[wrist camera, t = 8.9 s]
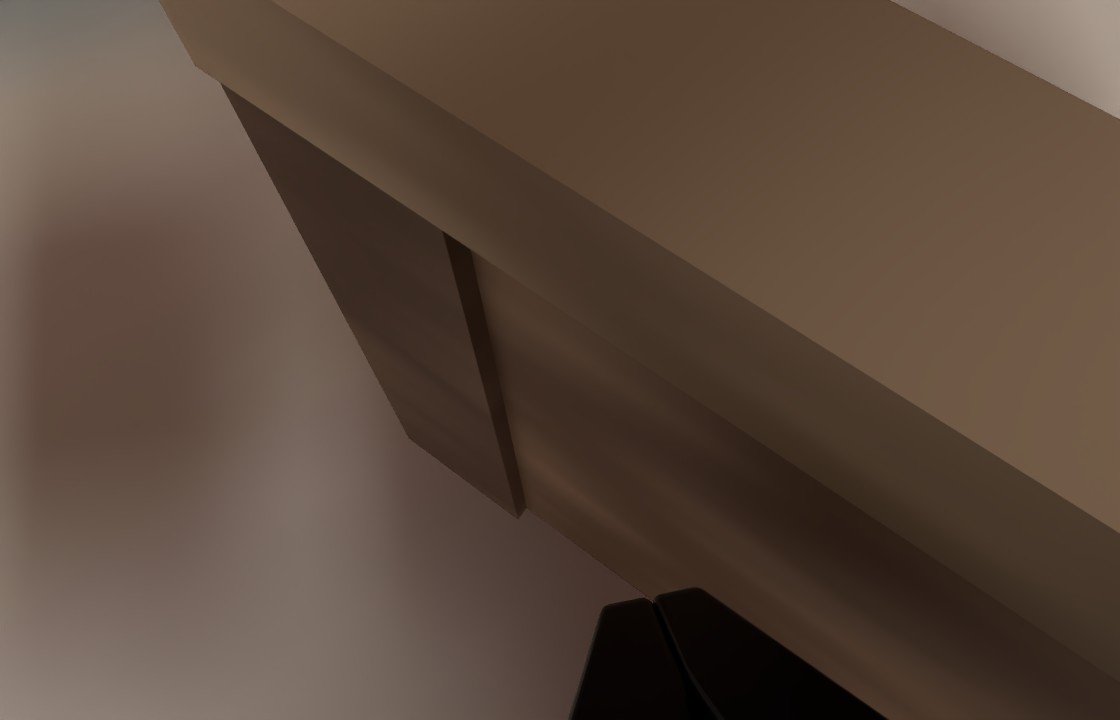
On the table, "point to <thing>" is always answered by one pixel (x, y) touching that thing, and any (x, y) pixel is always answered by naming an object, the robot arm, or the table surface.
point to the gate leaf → (735, 307)
